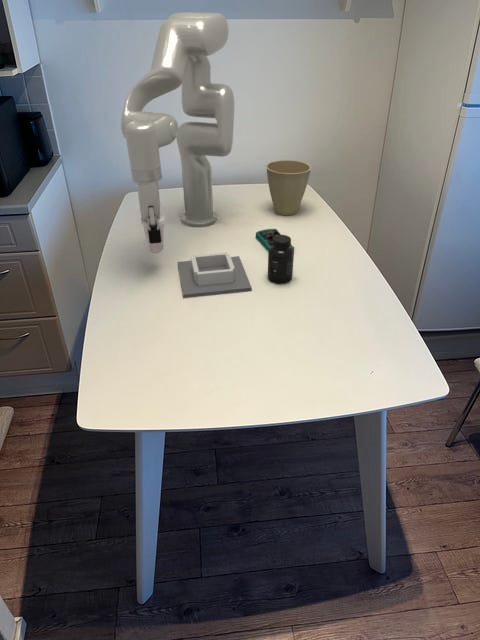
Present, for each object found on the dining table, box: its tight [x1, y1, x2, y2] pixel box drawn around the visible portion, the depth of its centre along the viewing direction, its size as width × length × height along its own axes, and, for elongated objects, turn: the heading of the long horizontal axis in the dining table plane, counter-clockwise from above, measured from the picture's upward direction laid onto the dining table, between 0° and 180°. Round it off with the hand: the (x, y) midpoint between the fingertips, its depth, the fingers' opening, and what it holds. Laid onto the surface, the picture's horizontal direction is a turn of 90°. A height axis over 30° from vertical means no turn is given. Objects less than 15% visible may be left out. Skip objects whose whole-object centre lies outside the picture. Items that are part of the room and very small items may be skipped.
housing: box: [177, 252, 253, 299], centre depth 134 cm, size 18×18×4 cm
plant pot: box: [266, 159, 312, 216], centre depth 168 cm, size 15×15×16 cm
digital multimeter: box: [255, 228, 295, 252], centre depth 151 cm, size 7×15×3 cm, turn 19°
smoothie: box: [140, 213, 166, 254], centre depth 133 cm, size 6×6×14 cm
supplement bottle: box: [267, 234, 295, 285], centre depth 131 cm, size 7×7×12 cm
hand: (154, 236), depth 135 cm, fingers closed on smoothie, 5 cm apart
